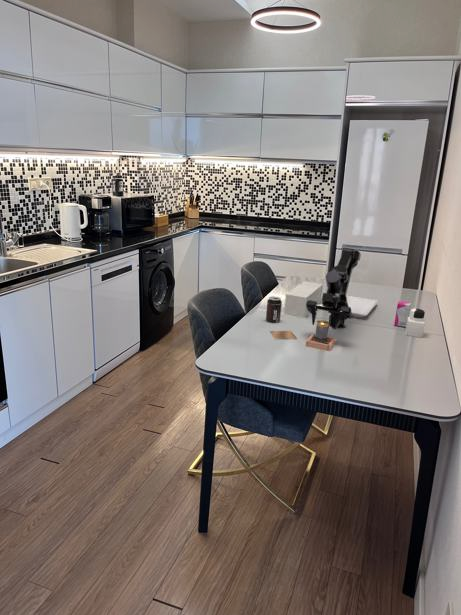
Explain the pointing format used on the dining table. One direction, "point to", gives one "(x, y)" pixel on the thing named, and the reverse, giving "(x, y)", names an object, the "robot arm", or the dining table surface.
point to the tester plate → (283, 335)
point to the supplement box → (402, 314)
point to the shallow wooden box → (320, 345)
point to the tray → (360, 306)
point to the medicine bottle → (415, 323)
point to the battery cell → (322, 331)
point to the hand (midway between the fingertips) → (323, 326)
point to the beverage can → (273, 309)
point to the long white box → (302, 298)
